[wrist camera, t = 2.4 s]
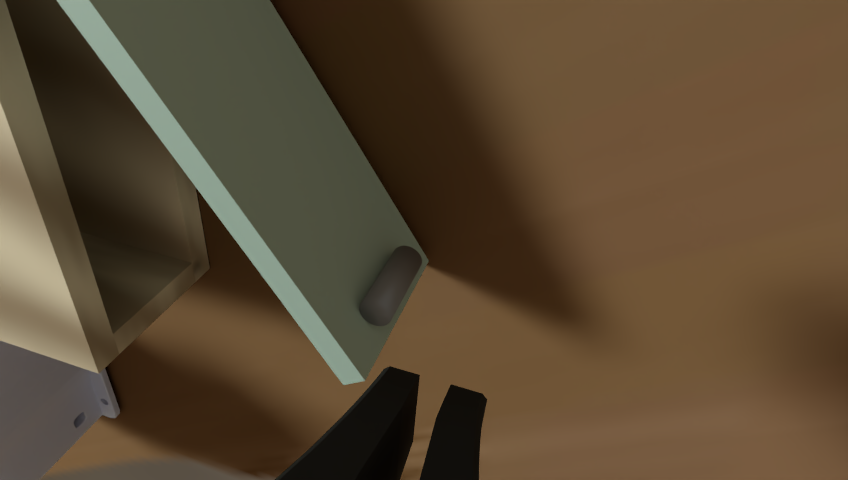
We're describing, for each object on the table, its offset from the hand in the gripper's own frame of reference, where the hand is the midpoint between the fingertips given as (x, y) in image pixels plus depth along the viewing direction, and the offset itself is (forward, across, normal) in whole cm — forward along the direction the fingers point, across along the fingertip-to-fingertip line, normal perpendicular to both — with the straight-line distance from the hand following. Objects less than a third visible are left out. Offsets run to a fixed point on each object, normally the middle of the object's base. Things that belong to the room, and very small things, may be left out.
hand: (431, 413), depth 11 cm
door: (+9, +7, -3) cm, 12 cm away
